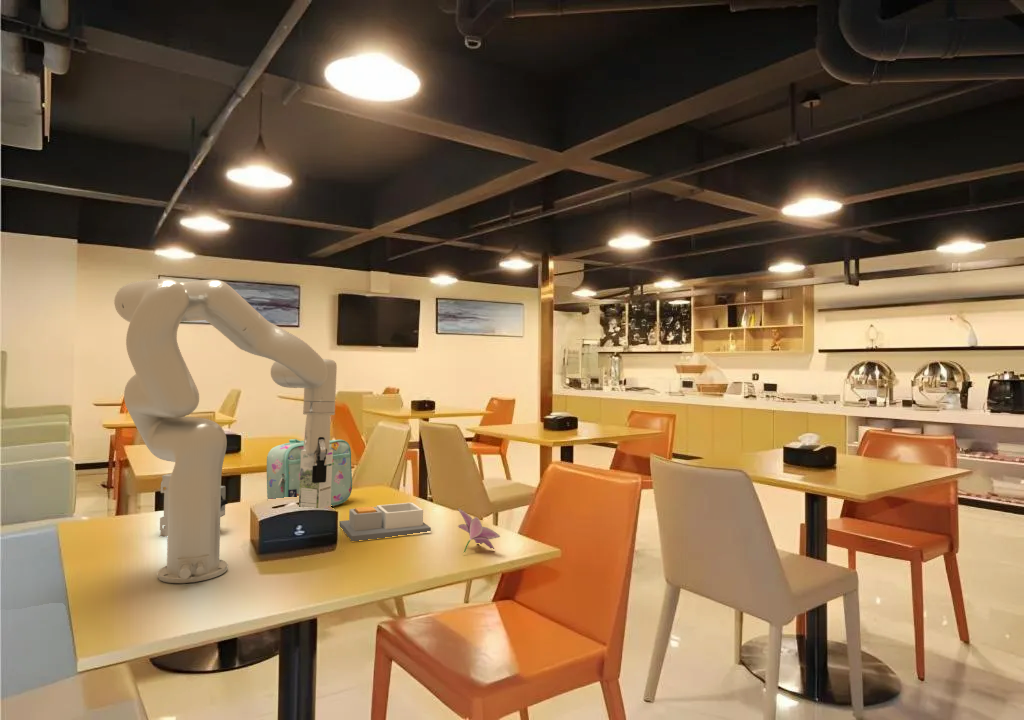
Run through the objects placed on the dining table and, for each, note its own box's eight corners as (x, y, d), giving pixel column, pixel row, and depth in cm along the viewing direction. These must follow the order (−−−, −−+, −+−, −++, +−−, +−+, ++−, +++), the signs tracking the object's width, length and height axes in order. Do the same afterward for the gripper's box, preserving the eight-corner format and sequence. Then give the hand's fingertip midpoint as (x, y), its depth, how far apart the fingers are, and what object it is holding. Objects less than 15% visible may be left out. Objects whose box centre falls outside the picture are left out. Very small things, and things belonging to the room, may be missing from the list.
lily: (500, 565, 137) (512, 523, 141) (452, 547, 134) (466, 505, 138) (481, 566, 147) (493, 527, 152) (437, 550, 144) (450, 510, 149)
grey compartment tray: (430, 533, 158) (431, 512, 158) (352, 542, 149) (352, 519, 149) (412, 519, 173) (412, 499, 173) (339, 526, 164) (339, 506, 164)
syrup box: (331, 507, 154) (334, 448, 155) (318, 511, 148) (320, 450, 149) (311, 505, 155) (314, 447, 156) (297, 509, 150) (300, 449, 150)
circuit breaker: (216, 537, 152) (218, 476, 152) (159, 536, 152) (160, 475, 152) (231, 529, 159) (232, 471, 160) (176, 528, 160) (178, 470, 160)
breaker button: (375, 525, 158) (376, 510, 158) (358, 527, 156) (358, 511, 156) (371, 521, 162) (371, 506, 162) (354, 523, 160) (355, 507, 160)
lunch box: (285, 521, 169) (286, 443, 170) (260, 516, 174) (262, 440, 175) (355, 503, 192) (356, 434, 193) (331, 499, 198) (332, 432, 198)
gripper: (298, 407, 159) (295, 475, 158) (308, 410, 143) (305, 486, 143) (328, 407, 162) (325, 474, 162) (341, 410, 147) (338, 484, 146)
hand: (316, 479), depth 152 cm, fingers closed on syrup box, 8 cm apart
